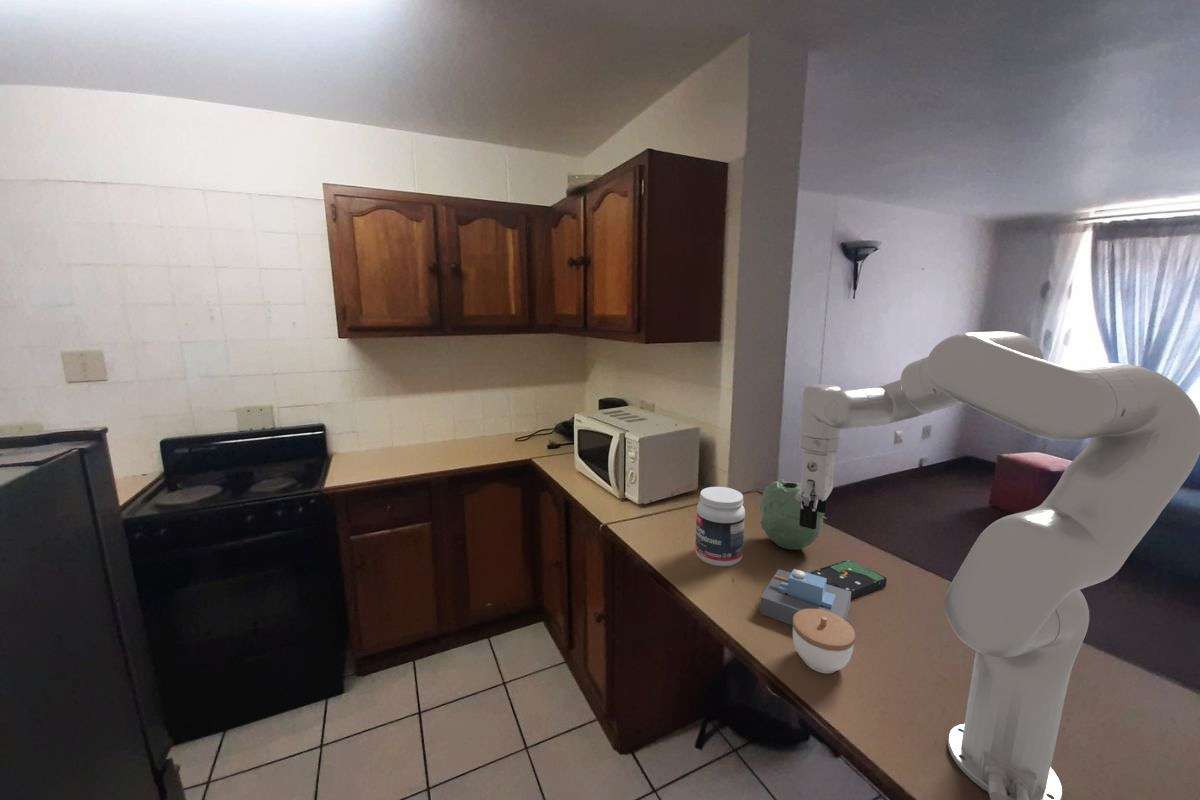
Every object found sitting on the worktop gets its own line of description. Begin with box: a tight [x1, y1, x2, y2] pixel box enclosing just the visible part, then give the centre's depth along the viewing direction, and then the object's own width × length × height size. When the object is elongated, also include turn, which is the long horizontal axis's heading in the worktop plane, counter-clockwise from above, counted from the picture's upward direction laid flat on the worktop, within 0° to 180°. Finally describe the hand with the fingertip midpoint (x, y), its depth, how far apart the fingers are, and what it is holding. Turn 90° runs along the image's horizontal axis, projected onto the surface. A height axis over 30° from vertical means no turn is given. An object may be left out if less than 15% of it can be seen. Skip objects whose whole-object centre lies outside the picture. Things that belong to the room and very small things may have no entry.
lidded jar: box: [792, 609, 856, 675], centre depth 87 cm, size 11×11×9 cm
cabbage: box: [759, 478, 828, 550], centre depth 130 cm, size 16×19×20 cm
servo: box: [773, 568, 836, 608], centre depth 103 cm, size 13×4×9 cm, turn 54°
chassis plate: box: [759, 569, 852, 626], centre depth 103 cm, size 14×16×4 cm
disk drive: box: [810, 559, 888, 600], centre depth 114 cm, size 10×3×15 cm
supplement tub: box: [694, 486, 746, 567], centre depth 125 cm, size 13×13×18 cm
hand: (812, 519), depth 99 cm, fingers open, 9 cm apart
